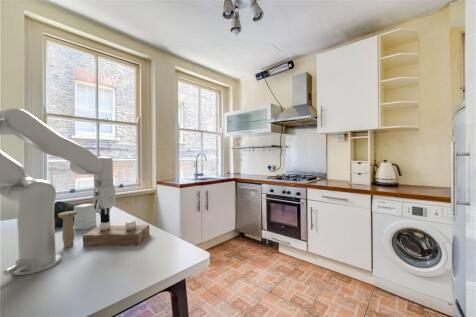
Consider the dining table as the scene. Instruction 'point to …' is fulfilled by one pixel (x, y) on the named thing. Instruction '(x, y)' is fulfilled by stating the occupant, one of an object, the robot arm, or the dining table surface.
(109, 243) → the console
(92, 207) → the supplement box
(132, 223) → the knob
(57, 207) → the squash
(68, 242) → the handle
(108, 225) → the knob
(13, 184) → the robot arm
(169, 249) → the dining table surface
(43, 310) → the dining table surface
